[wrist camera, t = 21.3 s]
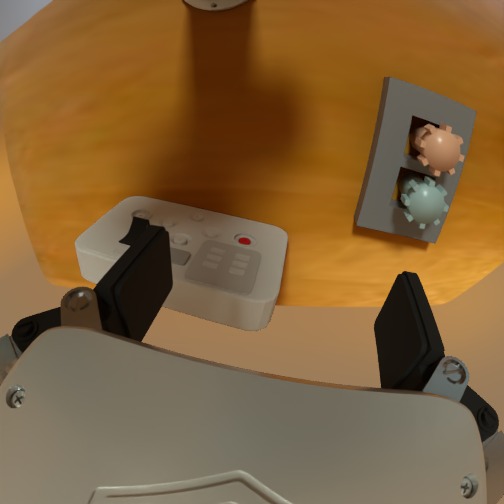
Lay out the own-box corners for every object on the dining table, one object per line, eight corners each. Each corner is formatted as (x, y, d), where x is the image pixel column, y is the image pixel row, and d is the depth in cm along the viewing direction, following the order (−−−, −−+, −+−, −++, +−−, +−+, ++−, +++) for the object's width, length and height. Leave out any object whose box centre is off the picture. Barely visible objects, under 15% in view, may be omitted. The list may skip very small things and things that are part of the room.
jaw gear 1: (406, 110, 32) (426, 117, 26) (444, 124, 32) (469, 135, 25) (397, 153, 36) (414, 168, 30) (434, 164, 35) (456, 182, 29)
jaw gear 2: (393, 160, 37) (409, 177, 30) (432, 167, 36) (453, 185, 29) (387, 202, 40) (399, 225, 34) (424, 207, 39) (442, 231, 33)
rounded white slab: (293, 216, 45) (281, 291, 30) (282, 255, 49) (267, 336, 35) (130, 181, 47) (64, 231, 32) (132, 219, 51) (74, 276, 36)
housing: (384, 77, 31) (389, 76, 28) (466, 108, 29) (476, 111, 27) (353, 216, 43) (356, 225, 40) (429, 234, 42) (435, 243, 39)
